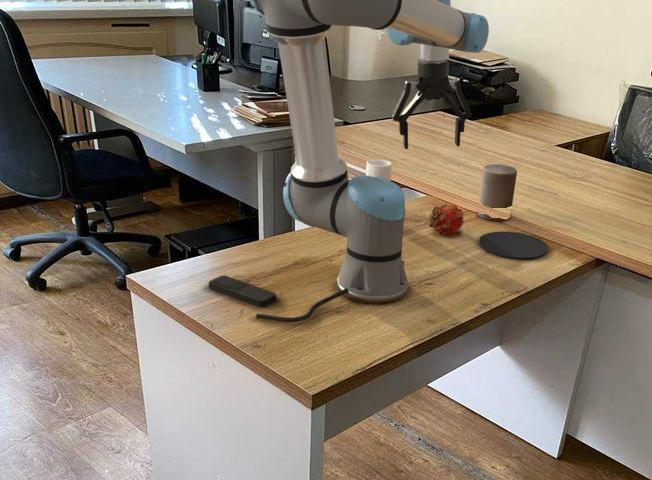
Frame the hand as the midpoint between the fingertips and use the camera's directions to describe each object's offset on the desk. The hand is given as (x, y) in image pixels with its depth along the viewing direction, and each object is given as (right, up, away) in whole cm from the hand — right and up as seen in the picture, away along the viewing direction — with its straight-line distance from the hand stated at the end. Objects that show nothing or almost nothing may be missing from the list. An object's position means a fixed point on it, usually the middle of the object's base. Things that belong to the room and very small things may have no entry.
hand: (431, 145), depth 180 cm
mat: (+21, -26, +1) cm, 33 cm away
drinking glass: (-15, -17, +11) cm, 25 cm away
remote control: (-39, -41, -36) cm, 67 cm away
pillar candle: (+18, -14, +21) cm, 31 cm away
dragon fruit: (+4, -22, +6) cm, 23 cm away
